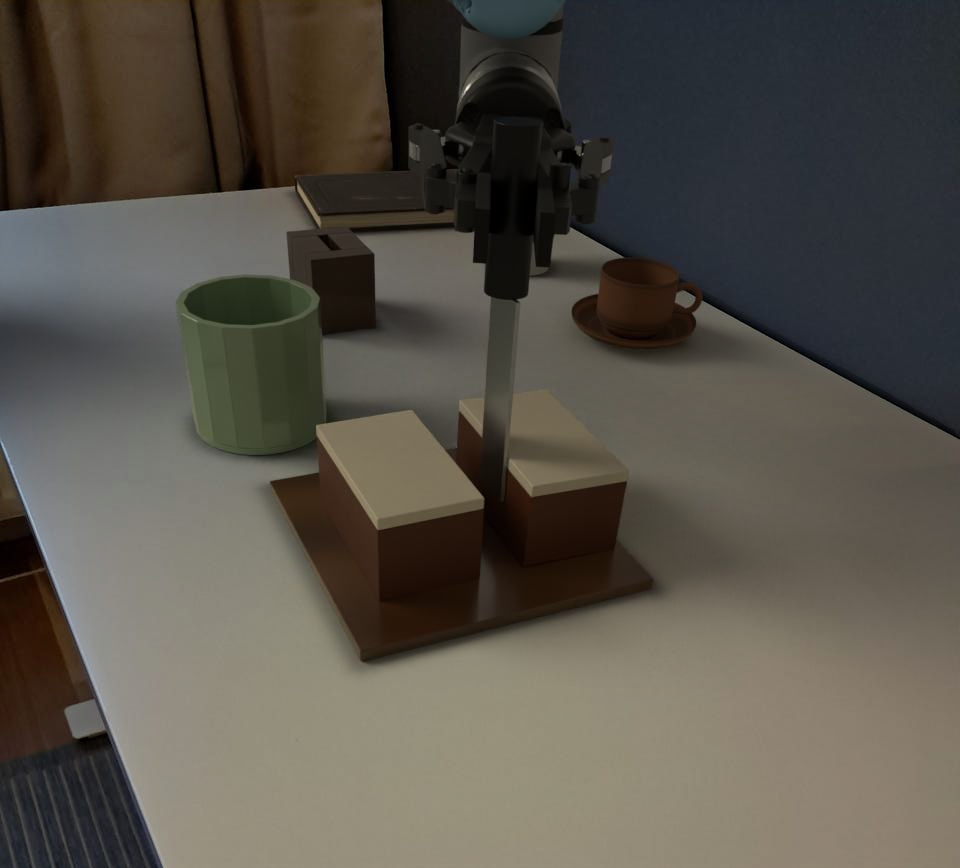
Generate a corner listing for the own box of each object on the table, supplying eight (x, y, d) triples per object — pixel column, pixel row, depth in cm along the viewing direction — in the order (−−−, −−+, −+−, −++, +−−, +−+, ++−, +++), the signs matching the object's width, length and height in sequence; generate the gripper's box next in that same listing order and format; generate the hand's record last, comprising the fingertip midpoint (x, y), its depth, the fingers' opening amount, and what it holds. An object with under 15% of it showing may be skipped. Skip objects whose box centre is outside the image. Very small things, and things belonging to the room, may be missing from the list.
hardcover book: (506, 223, 119) (507, 203, 117) (319, 233, 113) (317, 213, 111) (466, 185, 130) (467, 167, 129) (295, 193, 124) (293, 173, 123)
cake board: (270, 490, 70) (269, 480, 70) (518, 445, 77) (519, 435, 77) (360, 662, 57) (360, 651, 56) (652, 588, 63) (654, 578, 63)
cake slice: (454, 475, 71) (459, 399, 67) (538, 462, 74) (547, 388, 70) (523, 566, 63) (532, 486, 59) (614, 548, 65) (629, 470, 61)
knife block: (291, 304, 96) (286, 231, 92) (349, 297, 99) (346, 225, 94) (315, 335, 91) (310, 260, 87) (376, 328, 93) (374, 253, 89)
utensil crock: (184, 404, 79) (164, 282, 73) (305, 386, 83) (296, 268, 76) (211, 464, 72) (192, 335, 66) (343, 442, 76) (337, 317, 70)
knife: (463, 480, 66) (482, 114, 52) (498, 474, 66) (526, 114, 53) (484, 505, 63) (509, 128, 50) (520, 499, 64) (555, 127, 51)
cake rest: (320, 502, 68) (315, 424, 64) (411, 485, 70) (412, 409, 66) (379, 601, 60) (377, 519, 56) (480, 578, 62) (485, 497, 58)
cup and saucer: (659, 306, 101) (669, 245, 97) (714, 355, 92) (728, 290, 88) (551, 315, 98) (557, 252, 94) (598, 366, 89) (607, 299, 85)
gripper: (613, 191, 70) (653, 319, 52) (396, 177, 70) (362, 302, 52) (629, 72, 65) (679, 169, 48) (396, 57, 65) (358, 149, 47)
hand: (513, 238), depth 50 cm, fingers closed on knife, 3 cm apart
